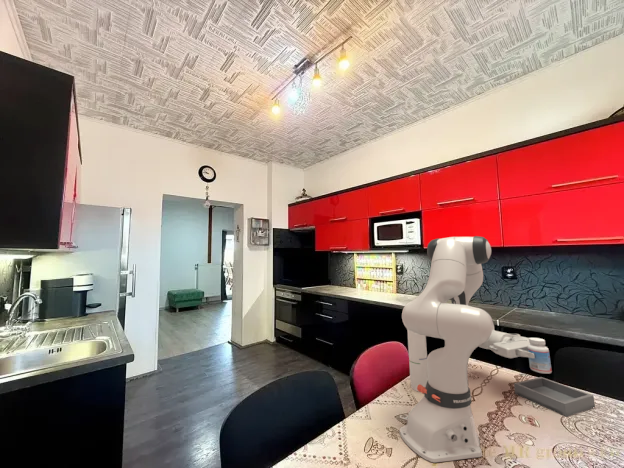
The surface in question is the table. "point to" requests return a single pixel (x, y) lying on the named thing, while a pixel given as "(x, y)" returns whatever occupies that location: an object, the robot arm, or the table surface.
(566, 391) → the tray
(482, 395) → the table surface
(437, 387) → the robot arm
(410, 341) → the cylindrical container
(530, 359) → the pill bottle
